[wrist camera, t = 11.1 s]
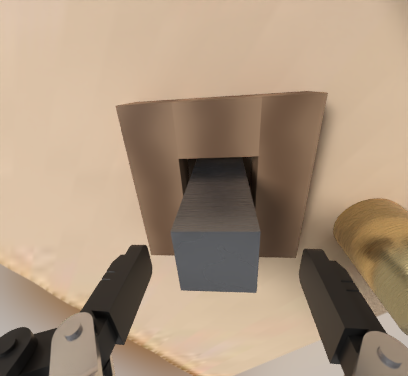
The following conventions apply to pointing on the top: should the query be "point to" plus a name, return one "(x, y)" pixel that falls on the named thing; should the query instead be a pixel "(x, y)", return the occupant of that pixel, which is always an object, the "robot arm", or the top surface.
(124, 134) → the bore block
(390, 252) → the cylinder
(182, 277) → the square bit
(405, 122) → the top surface
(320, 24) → the top surface
